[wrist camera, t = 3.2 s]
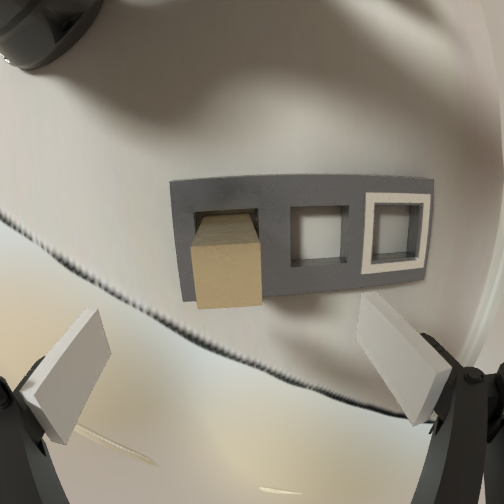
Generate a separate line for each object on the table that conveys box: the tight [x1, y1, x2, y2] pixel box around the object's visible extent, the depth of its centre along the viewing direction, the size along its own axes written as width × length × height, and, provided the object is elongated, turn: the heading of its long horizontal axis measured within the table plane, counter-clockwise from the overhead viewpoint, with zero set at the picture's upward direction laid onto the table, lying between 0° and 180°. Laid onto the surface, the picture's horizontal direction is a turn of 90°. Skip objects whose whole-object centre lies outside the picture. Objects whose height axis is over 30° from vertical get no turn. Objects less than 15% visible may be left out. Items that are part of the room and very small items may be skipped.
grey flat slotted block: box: [169, 174, 434, 302], centre depth 29 cm, size 28×12×2 cm, turn 92°
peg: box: [190, 214, 262, 309], centre depth 24 cm, size 4×4×11 cm
